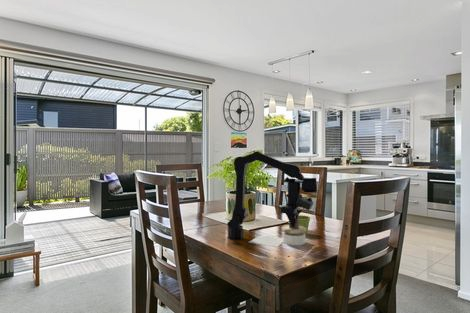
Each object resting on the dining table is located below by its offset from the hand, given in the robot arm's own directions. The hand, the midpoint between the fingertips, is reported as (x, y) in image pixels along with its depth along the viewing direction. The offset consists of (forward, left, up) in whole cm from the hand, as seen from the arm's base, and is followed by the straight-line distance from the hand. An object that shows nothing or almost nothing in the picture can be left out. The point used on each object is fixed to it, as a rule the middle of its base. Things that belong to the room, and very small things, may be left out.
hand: (293, 226), depth 139 cm
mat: (-11, -4, -8) cm, 14 cm away
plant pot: (-2, +17, -8) cm, 19 cm away
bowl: (0, 0, -8) cm, 8 cm away
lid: (0, 0, -2) cm, 2 cm away
